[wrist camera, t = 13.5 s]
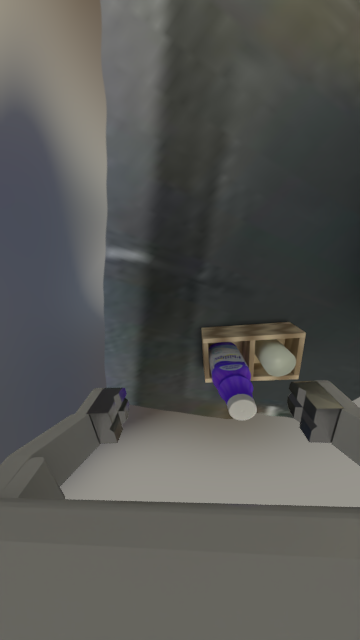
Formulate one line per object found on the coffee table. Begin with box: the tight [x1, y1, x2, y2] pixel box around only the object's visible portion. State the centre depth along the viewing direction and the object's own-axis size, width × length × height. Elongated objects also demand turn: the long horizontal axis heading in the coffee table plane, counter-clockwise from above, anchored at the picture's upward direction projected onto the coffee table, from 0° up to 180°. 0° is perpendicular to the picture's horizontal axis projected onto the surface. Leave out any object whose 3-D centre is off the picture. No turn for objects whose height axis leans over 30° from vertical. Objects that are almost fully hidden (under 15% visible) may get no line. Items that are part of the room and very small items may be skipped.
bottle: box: [208, 342, 257, 420], centre depth 33 cm, size 7×6×17 cm
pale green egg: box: [255, 339, 296, 377], centre depth 37 cm, size 6×6×7 cm
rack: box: [201, 322, 306, 382], centre depth 39 cm, size 20×11×6 cm, turn 95°
